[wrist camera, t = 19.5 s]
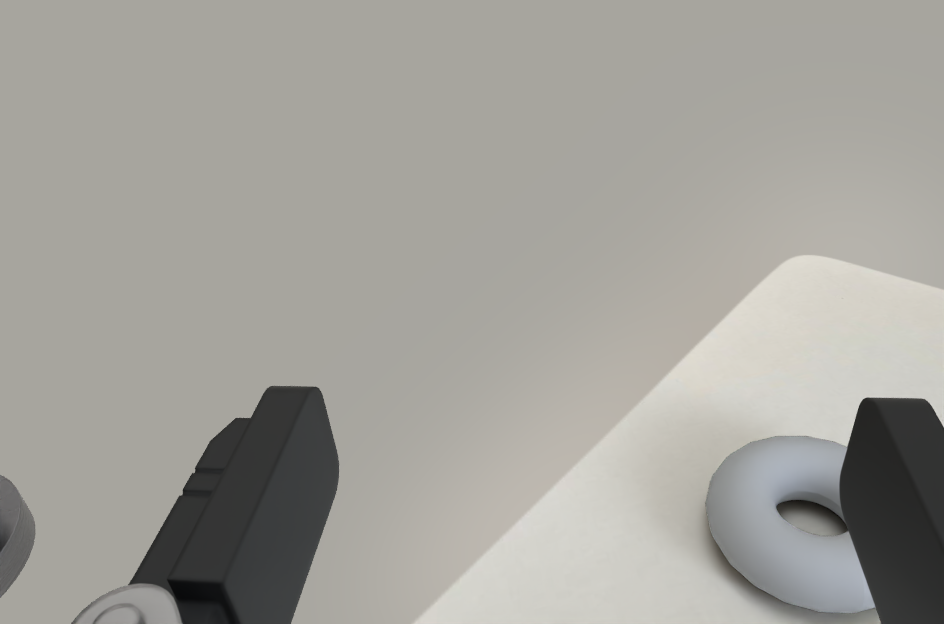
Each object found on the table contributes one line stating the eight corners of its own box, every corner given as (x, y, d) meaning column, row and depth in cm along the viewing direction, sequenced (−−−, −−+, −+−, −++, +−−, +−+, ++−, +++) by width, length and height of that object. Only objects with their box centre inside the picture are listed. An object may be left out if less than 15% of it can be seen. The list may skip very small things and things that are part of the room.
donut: (812, 446, 43) (663, 503, 40) (823, 400, 41) (668, 457, 39) (967, 581, 35) (796, 663, 33) (990, 532, 34) (811, 615, 31)
